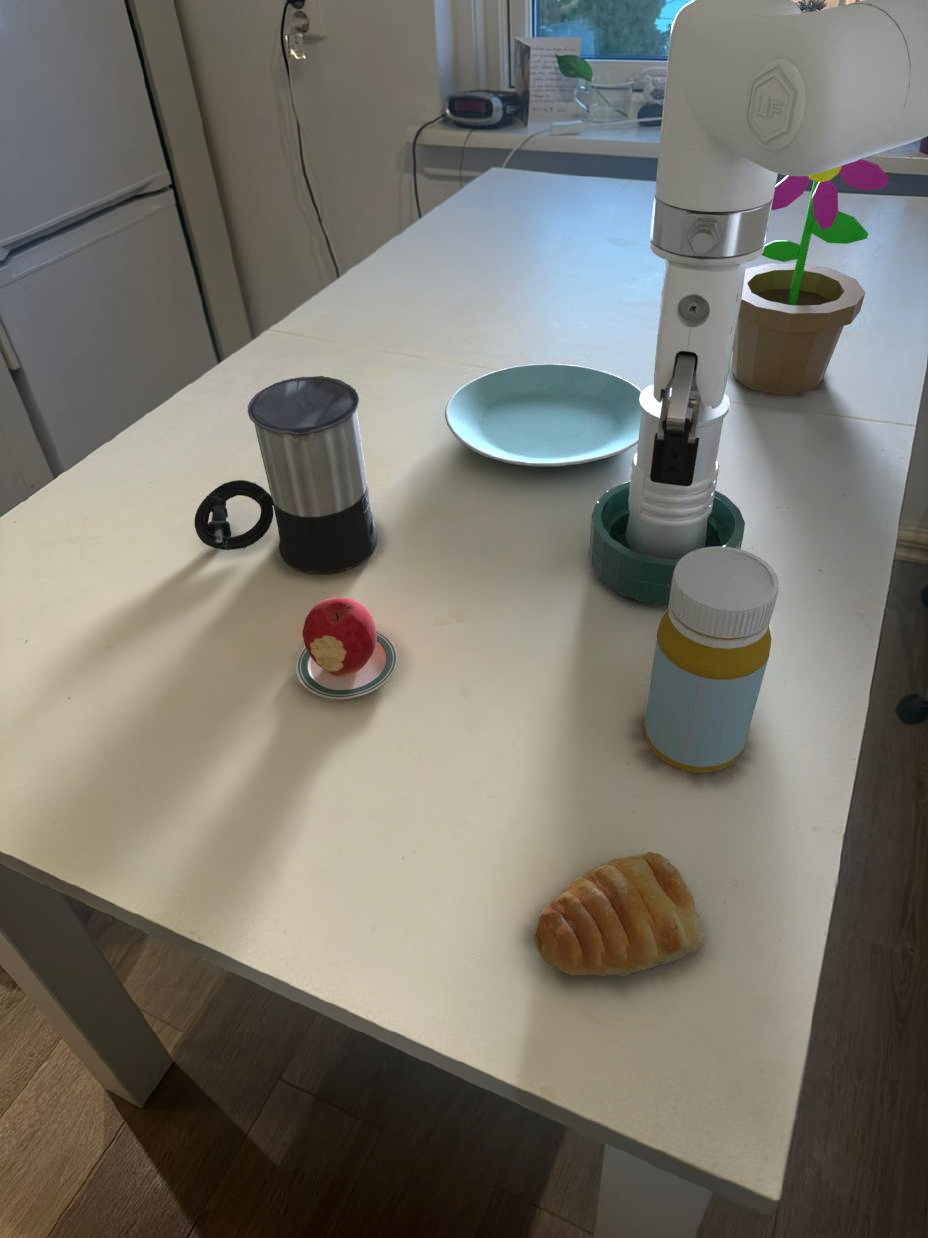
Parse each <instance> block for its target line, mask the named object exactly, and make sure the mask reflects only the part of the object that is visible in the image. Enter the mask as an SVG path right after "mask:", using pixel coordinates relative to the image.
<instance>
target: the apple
mask: <svg viewBox="0 0 928 1238" xmlns="http://www.w3.org/2000/svg"><path fill="white" fill-rule="evenodd" d="M301 634H302V639H303V644H304V647H303V648H302V650H301V651H300V653H299V654H298V657H297V660H296V663H295V665H296V666H295V669H296V675H297V678H298V681H299V682H300V684H301V685H302V686H303V687H304V688H305V689H306V690H308V691H309V692H310V693H312V694H314V695H316V696H318V697H321V698H324V699H325V698H326V699H328V700H329V699H331V700H350V699H355V698H359V697H363V696H366V695H368V694H371V693H373V692H375V691H377V690H378V689H379V688H381V687H382V686H383V685H384V684H386V683H388V681H389V680H390V679H391V677H392V676H393V675H394V673H395V670H396V668H397V666H398V650H397V648H396V645H395V644H394V642H393V641H392V640H391V639H390V638H389V637H388V636H386V635H385V634H384V633H382V632H380V631H378V630H377V628H376V624H375V622H374V619H373V617H372V614H371V612H370V611H369V610H368V609H367V608H366V607H365V606H364V605H363V604H361V603H360V602H358V601H357V600H354V599H352V598H347V597H330V598H326V599H323V600H321V601H319V602H317V603H316V604H314V606H313V607H312V608H311V609H310V610H309V612H308V614H307V615H306V617H305V620H304V623H303V627H302V632H301Z"/></svg>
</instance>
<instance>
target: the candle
mask: <svg viewBox="0 0 928 1238" xmlns="http://www.w3.org/2000/svg"><path fill="white" fill-rule="evenodd" d="M653 389H654V383H653V384H651V385H649V386H647V387H645V388H644V389H643V390H642V393H641V394H640V398H639V407H640V410H641V420H640V429H639V439H638V443H637V451H636V453H635V454H634V456H633V457H632V461H631V473H630V481H631V483H630V488H629V491H630V494H629V498H628V503H629V511H630V515H629V520H628V525H627V530H626V540H627V542H628V544H629V545H630V547H631V548H630V550H632V551H635V552H638V553H640V554H643V555H646V556H651V557H657V558H664V559H681V558H682V557H683V556H685V555H686V554H688V553H690V552H692V551H694V550H697V549H701V548H703V547H704V546H705V541H706V530H707V518H708V516H709V515H710V513H711V512H712V506H713V500H714V495H715V490H716V488H717V483H718V476H719V472H720V464H719V462H718V459H717V458H718V453H719V447H720V441H721V435H722V430H723V425H724V424H723V423H724V418H726V416H727V415H728V413H729V411H730V404H731V402H730V398H729V396H728V395H727V394H726V392H724V397H723V401H722V403H721V404H720V405H719V406H718V407H717V408H715V409H712V406H703V404H702V406H701V410H700V415H699V421H698V427H697V433H696V438H699V444H698V451H697V457H696V463H695V470H694V476H693V482H692V484H691V485H690V486H688V487H686V486H679V485H671V484H663V483H655V482H652V481H651V480H650V473H651V465H652V456H653V448H654V439H655V434H656V433H658V427H659V420H660V414H661V407H662V401H661V403H659V402H658V401H657V400H656V399H655V398H654V396H653ZM671 393H672V388H670V395H669V396H671ZM697 394H698V391H692V390H691V392H690V398H694V399H697ZM692 411H693V408H688V409H687V417H686V418H687V419H690V423H691V417H692Z"/></svg>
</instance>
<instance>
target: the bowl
mask: <svg viewBox="0 0 928 1238" xmlns="http://www.w3.org/2000/svg"><path fill="white" fill-rule="evenodd" d="M630 483H631V480H629V481H625V482H622V483H620V484H618V485H616V486H614V487H612V488H610V489H608V490H606V491H605V492H604V493H603V494H602V495H601V496H600V497H599V498H598V499H597V500H596V502H595V503H594V506H593V509H592V512H591V515H590V516H591V517H590V528H589V529H590V532H589V545H588V555H589V556H588V557H589V560H590V566H591V568H592V570H593V571H594V572H595V574H596V576H597V577H598V578H599V580H600V581H601V582H603V584H606V585H607V586H608V587H610V588H611V589H612V590H614V591H615V592H617V593H619V594H621V595H624V596H626V597H629V598H631V599H634V600H636V601H639V602H643V603H648V604H653V605H661V606H669V600H670V591H671V585H672V578H673V572H674V569H675V568H676V565H677V563H678V562H679V560H680V559H664V558H657V557H651V556H646V555H643V554H640V553H638V552H635V551H632V550H630V548H631V547H630V545H629V544H628V542H627V540H626V530H627V525H628V520H629V515H630V511H629V503H628V498H629V494H630V491H629V488H630ZM745 526H746V521H745V519H744V517H743V515H742V512H741V509H740V508H739V507H738V506H737V505H736V504H735V503H734V502H733V501H732V500H731V499H730V498H729V497H728V496H727V495H725V494H723V493H721V492H719V491H717V490H716V489H715V495H714V500H713V506H712V512H711V513H710V515H709V516H708V518H707V530H706V541H705V546H704V547H703V548H705V547H715V546H721V547H731V548H737V549H741V550H742V544H743V539H744V535H745Z"/></svg>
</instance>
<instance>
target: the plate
mask: <svg viewBox="0 0 928 1238" xmlns="http://www.w3.org/2000/svg"><path fill="white" fill-rule="evenodd" d="M642 392H643V390H641V388H639V387H638V386H636V384H634V383H632V382H630V381H629V380H626V379H624V378H623V377H620V376H618V375H615V374H613V373H610V372H607V371H603V370H601V369H600V370H599V369H595V368H591V367H586V366H581V365H574V364H565V363H564V364H563V363H535V364H524V365H523V364H522V365H516V366H510V367H506V368H502V369H499V370H495V371H492V372H489V373H487V374H484V375H481V376H479V377H476V378H475V379H473V380H470V381H469V382H466V384H464V385H463V386H461V387H460V388H459V389H457V391H455V392H454V393H453V395H451V397H450V398H449V400H448V402H447V403H446V406H445V410H444V419H445V423H446V425H447V427H448V430H450V432H451V433H452V434H453V436H454V437H455V438H456V439H457V440H458V441H459V442H460V443H462V444H463V445H464V446H466V447H467V448H469V449H470V450H471V451H474V452H476V453H478V454H479V455H481V456H483V457H486V458H489V459H492V460H495V461H498V462H502V463H506V464H511V465H516V466H523V467H536V468H537V467H539V468H541V467H543V468H544V467H545V468H551V467H552V468H553V467H566V466H574V465H582V464H588V463H591V462H596V461H602V460H604V459H607V458H611V457H614V456H617V455H620V454H621V453H624V452H626V451H628V450H630V449H632V448H633V447H634V446H637V445H638V439H639V429H640V420H641V410H640V407H639V398H640V394H641V393H642Z"/></svg>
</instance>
